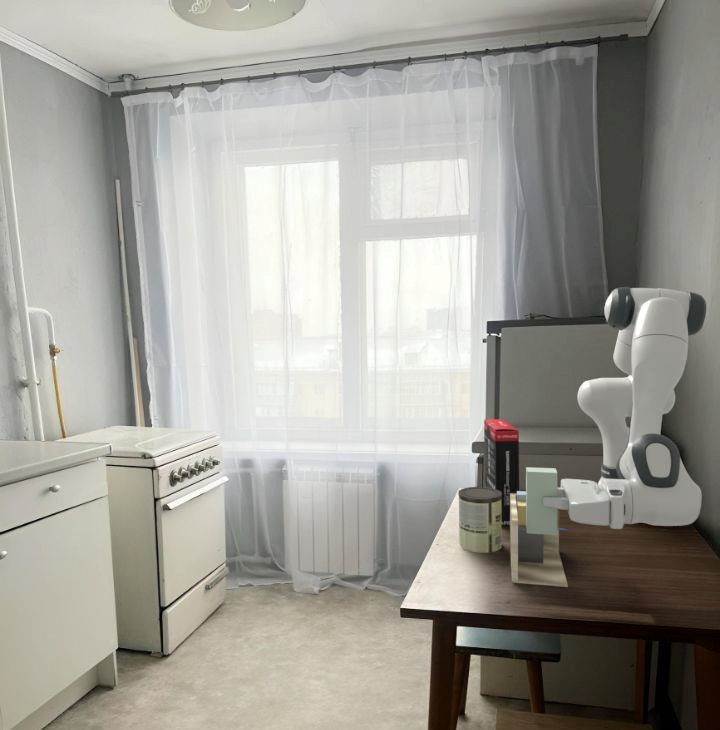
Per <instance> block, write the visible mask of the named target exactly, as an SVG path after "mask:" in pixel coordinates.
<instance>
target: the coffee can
mask: <svg viewBox="0 0 720 730" xmlns="http://www.w3.org/2000/svg"><path fill="white" fill-rule="evenodd" d="M457 494H458V524H459V525H458V527H459V528H458V531H459V533H458V535H459V536H458V538H459V539H458V540H459V541H458V542H459V543H458V544H459V546H460V548H462V549H464V550H465V551H469V552H473V553H482V554H483V553H488V554H489V553H494V552H497V551H499V550H500V549H501V548H502V540H503V539H502V535H503V533H502V532H503V531H502V530H503V529H502V527H503V526H502V515H501V514H502V513H501V497H502V493H501V492H500V491H499V490H496V489H493V488H487V487H485V486H470V487H469V486H468V487H464V488H460V490H458V493H457Z"/></svg>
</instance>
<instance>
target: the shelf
mask: <svg viewBox="0 0 720 730" xmlns="http://www.w3.org/2000/svg"><path fill="white" fill-rule="evenodd" d="M559 528H560V509H558V508H557V535H546V534H543V563H530V562H518V515H517V494H516V493H510V526H509V553H510V554H509V555H510V572H511V583H514V584H524V585H525V584H526V585H527V584H528V585H540V586H541V585H542V586H549V587H550V586H552V587H561V588H562V587H564V588H569V585H568V581H567V577H566V574H565V571H564V570H565V569H564V567H563V562H562V559H561V555H560V529H559Z"/></svg>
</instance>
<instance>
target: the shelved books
mask: <svg viewBox="0 0 720 730" xmlns="http://www.w3.org/2000/svg"><path fill="white" fill-rule="evenodd" d="M517 515H518V526H526V490H525V491H524V490H519V491H517Z"/></svg>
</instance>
